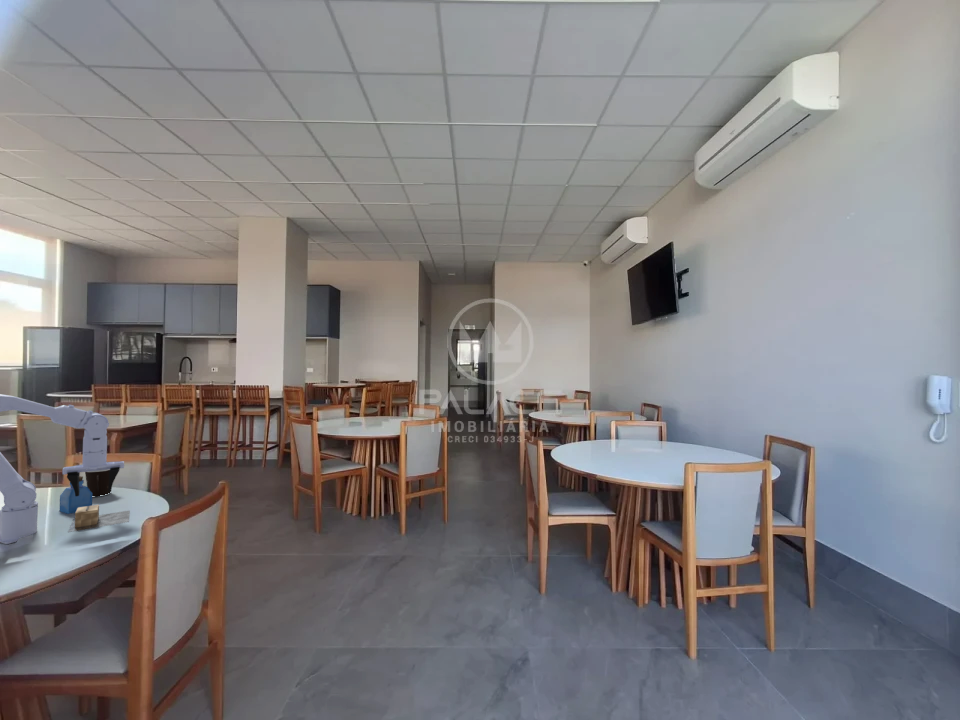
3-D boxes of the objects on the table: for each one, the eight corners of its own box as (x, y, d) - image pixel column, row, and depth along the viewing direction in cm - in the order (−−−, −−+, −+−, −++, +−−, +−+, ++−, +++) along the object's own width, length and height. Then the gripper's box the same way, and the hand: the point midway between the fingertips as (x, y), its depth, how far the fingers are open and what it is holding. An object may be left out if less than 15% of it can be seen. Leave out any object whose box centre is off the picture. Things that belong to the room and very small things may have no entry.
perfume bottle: (91, 511, 144) (92, 476, 145) (68, 517, 139) (69, 481, 139) (82, 508, 147) (83, 474, 147) (59, 513, 141) (60, 478, 142)
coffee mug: (94, 491, 165) (95, 466, 166) (119, 491, 167) (120, 466, 167) (71, 501, 154) (72, 474, 154) (98, 500, 156) (99, 473, 156)
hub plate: (67, 535, 124) (67, 522, 124) (73, 522, 134) (73, 510, 134) (128, 524, 133) (129, 512, 133) (129, 513, 143) (130, 501, 143)
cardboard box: (74, 527, 127) (75, 512, 127) (77, 521, 132) (77, 506, 132) (96, 524, 131) (97, 509, 131) (98, 518, 135) (99, 503, 135)
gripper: (61, 456, 127) (60, 500, 126) (123, 450, 136) (122, 492, 135) (64, 452, 132) (63, 494, 132) (124, 447, 141) (123, 487, 141)
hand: (93, 493), depth 134 cm, fingers open, 7 cm apart
